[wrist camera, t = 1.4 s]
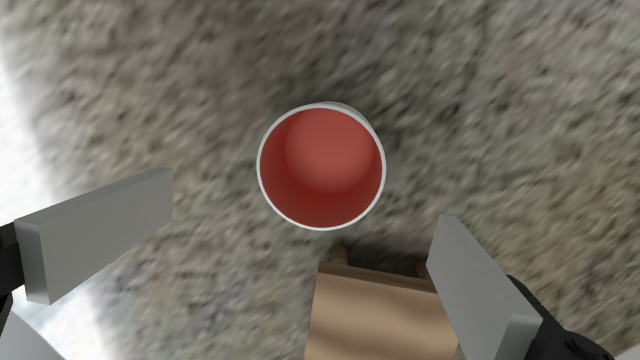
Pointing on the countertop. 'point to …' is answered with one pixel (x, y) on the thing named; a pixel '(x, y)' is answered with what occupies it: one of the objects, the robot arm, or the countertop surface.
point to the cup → (321, 166)
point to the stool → (376, 315)
